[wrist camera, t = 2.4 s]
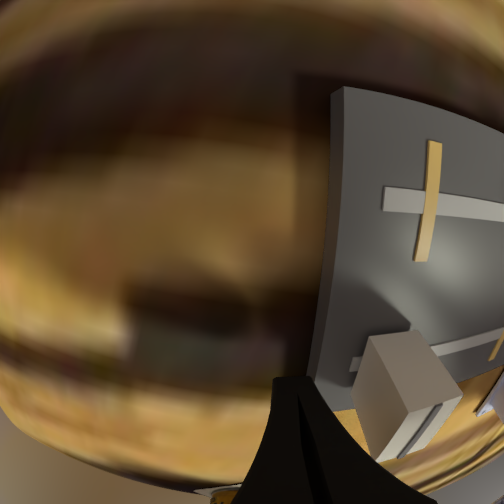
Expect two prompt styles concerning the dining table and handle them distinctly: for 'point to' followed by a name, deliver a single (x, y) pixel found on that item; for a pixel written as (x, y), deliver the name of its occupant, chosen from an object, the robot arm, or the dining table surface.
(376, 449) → the fader
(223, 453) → the dining table surface
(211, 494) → the condiment
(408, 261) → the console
